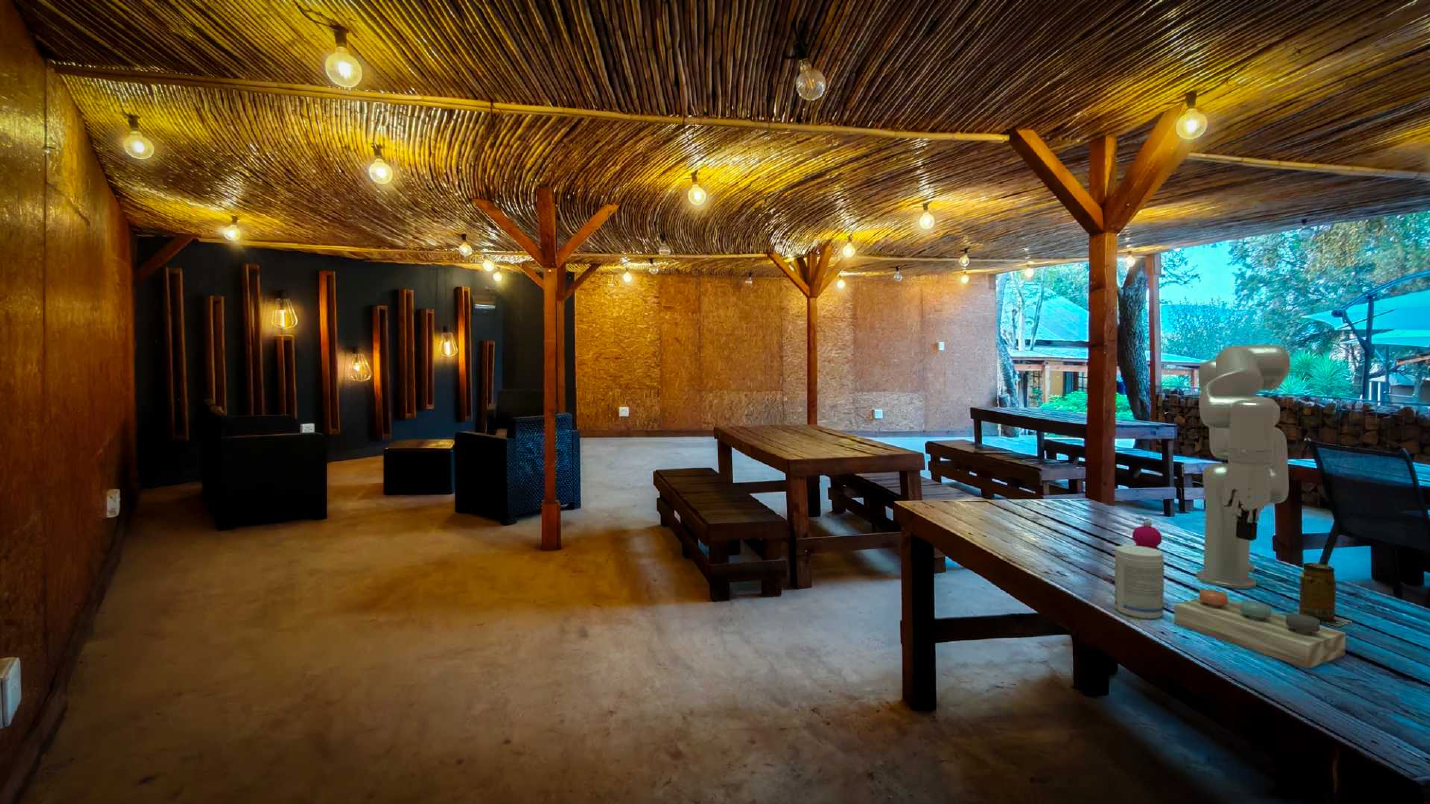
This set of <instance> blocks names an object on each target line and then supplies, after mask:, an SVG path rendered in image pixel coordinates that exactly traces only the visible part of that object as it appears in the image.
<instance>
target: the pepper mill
mask: <svg viewBox="0 0 1430 804" xmlns="http://www.w3.org/2000/svg"><path fill="white" fill-rule="evenodd" d="M1152 524H1153V523H1152V521H1151V520H1149V519H1146V520H1143V522H1142V525H1141V526H1138V527H1136V528H1134V530H1133V531H1132V540H1133V542H1134V543H1135V544H1134V546H1142V547H1148V548H1153V549H1156V550H1159V551H1160V548H1159V547H1158V546H1160V544H1161V543H1162V539H1163V538H1162V533H1161V532H1160V531H1159V530H1158V529H1157V528H1155V527H1153V526H1152Z"/></svg>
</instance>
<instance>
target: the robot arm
mask: <svg viewBox="0 0 1430 804" xmlns="http://www.w3.org/2000/svg"><path fill="white" fill-rule="evenodd" d="M1215 357H1216V358H1215V359H1209V360H1207V361H1204V362H1202V363H1201V365H1200V366H1199V369H1198V384H1199V389H1200V393H1199V397H1198V408H1199V417H1200V421H1201V422H1202V424H1203V425H1204V426H1205V427H1208V431H1209V434H1208V436H1209V438H1208V439H1209V440H1208V441H1209V449H1210V453H1211V455H1212V456H1214V457H1215V458H1217V459H1220V460H1221V459H1222V460H1227V462H1228V463H1227V462H1223V463H1222V462H1220V463H1212V464H1211V465H1209V466H1207V467H1205V468H1204V470H1203V473H1202V485H1203V491H1204V492H1203V493H1204V498H1205V499H1204V500H1205V515H1204V516H1205V517H1204V518H1205V519H1204V521H1205V522H1204V525H1205V526H1204V543H1203V544H1204V546H1203V547H1204V548H1203V552H1204V553H1203V570H1199V571H1196V574H1195V577H1196V578H1197V579H1198V580H1199V581H1201V582H1203V583H1207V584H1209V585H1213V586H1216V587H1217V586H1218V587H1223V588H1227V589H1228V588H1229V589H1241V590H1244V589H1245V590H1247V589H1253V588H1255V587H1257V581H1256V580H1255V579H1254V578H1251V577H1249V576H1250V572H1254V571H1255V570H1256V569H1255V566H1254V565H1253V564H1250V552H1251V551H1250V550H1251V542H1252V541H1255V540H1258V539H1257V538H1258V537H1257V536H1258V522H1259V520H1260V513H1261V512H1262V511H1264V509H1265V507H1266V506H1268V505H1269V504H1281V503H1283V502H1285V501H1286V500H1287V498H1288V495H1289V490H1290V489H1289V488H1290V486H1289V485H1290V483H1289V481H1290V480H1289V479H1290V478H1289V460H1288V459H1289V458H1288V445H1287V442H1288V441H1287V437H1286V435H1285V433H1284V431H1283V430H1281V428H1279V427H1275V426H1276V424H1279V421H1280V417H1281V407H1280V405H1279V404H1278V403H1277V402H1276V401H1275V400H1274V399H1273V398H1271V397H1267V396H1255V395H1257V394H1258V393H1259V392H1260V391H1272V390H1277V389H1278V388H1279V387H1281V385H1282V384H1283V382H1284V381H1285V379H1286V378H1287V376H1288V375H1289V373H1290V369H1291V358H1290V355H1289V353H1288V351H1287V350H1286V349H1285V347H1282V346H1280V345H1277V344H1276V345H1275V344H1258V345H1257V344H1254V345H1253V344H1251V345H1245V344H1244V345H1231V346H1228V347H1224V348H1223V349H1222V350H1220V351H1219V353H1218V354H1217V355H1216V356H1215Z"/></svg>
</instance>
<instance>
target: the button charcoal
mask: <svg viewBox="0 0 1430 804" xmlns="http://www.w3.org/2000/svg"><path fill="white" fill-rule="evenodd" d="M1285 616H1286V625H1287V626H1289V627H1291V628H1294V629H1296V632H1297V633H1300V634H1304V635H1307V636H1308V632H1318V631H1319V630H1320V626H1321V624H1320V623H1321V622H1320V620H1318V619H1317V618H1314V617H1311V616H1308V615H1303V614H1296V613H1295V612H1290V613H1286V615H1285Z"/></svg>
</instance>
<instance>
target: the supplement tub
mask: <svg viewBox="0 0 1430 804" xmlns="http://www.w3.org/2000/svg"><path fill="white" fill-rule="evenodd" d="M1114 557H1115V558H1114V561H1115V562H1114V570H1115V572H1114V606H1115V609H1116V610H1117V611H1118V612H1120V613H1121V614H1124V615H1127V616H1130V617H1133V618H1139V619H1157V618H1160V617H1161V616H1162V615H1163V614H1164V588H1165V586H1164V584H1165V583H1164V582H1165V581H1164V580H1165V571H1164V570H1165V561H1164V553H1163V552H1162V551H1161V550H1160V549H1159V550H1156V549H1153V548H1148V547H1142V546H1135V545H1119V546H1117V547H1116V548H1115V556H1114Z"/></svg>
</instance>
